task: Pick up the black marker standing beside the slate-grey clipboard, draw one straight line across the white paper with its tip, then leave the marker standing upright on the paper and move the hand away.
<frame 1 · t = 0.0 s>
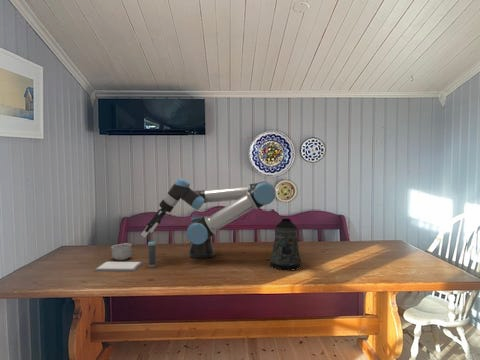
hand: (146, 233, 194), 15 cm above the table, tool tilted 35°, fingers open, 13 cm apart
marker: (152, 266, 184), on the table
teacup: (123, 258, 200), on the table
beer stein: (284, 266, 187), on the table
clipboard: (119, 266, 183), on the table
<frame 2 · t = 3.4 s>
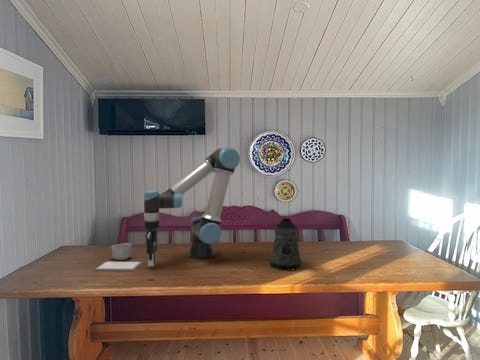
hand: (152, 264, 184), 1 cm above the table, tool pointing down, fingers closed on marker, 4 cm apart
marker: (152, 266, 184), on the table, touching gripper
everything else where it was.
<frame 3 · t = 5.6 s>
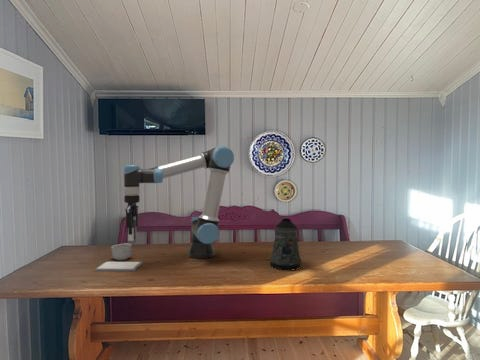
hand: (132, 239, 183), 15 cm above the table, tool pointing down, fingers closed on marker, 4 cm apart
marker: (132, 241, 183), point 13 cm above the table, touching gripper
everything else where it was.
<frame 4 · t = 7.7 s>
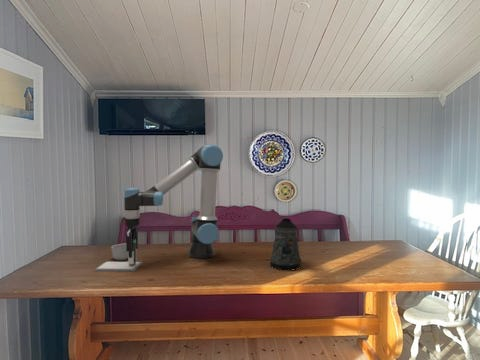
hand: (132, 262, 183), 3 cm above the table, tool pointing down, fingers closed on marker, 4 cm apart
marker: (132, 264, 183), point 1 cm above the table, touching gripper
everything else where it was.
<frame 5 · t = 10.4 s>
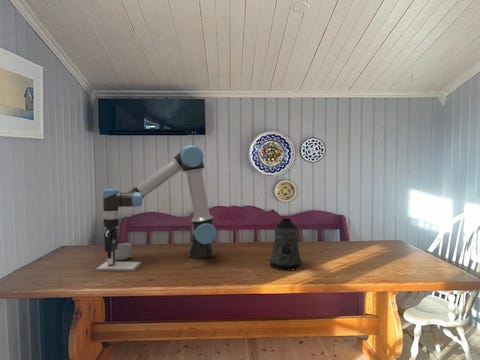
hand: (111, 262, 183), 2 cm above the table, tool pointing down, fingers closed on marker, 4 cm apart
marker: (112, 264, 183), point 1 cm above the table, touching gripper
everything else where it was.
when the fingers open (3 cm above the table, at t = 12.4 s): marker stays where it is, resting on clipboard.
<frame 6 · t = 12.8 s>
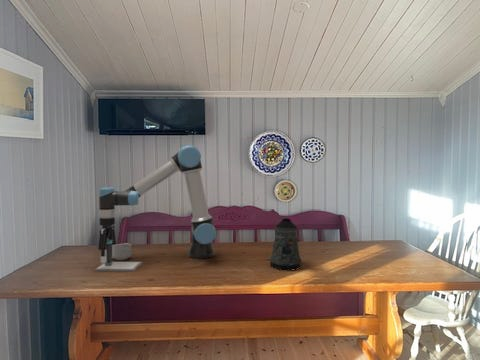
hand: (107, 259, 183), 4 cm above the table, tool pointing down, fingers open, 10 cm apart
marker: (108, 264, 183), point 1 cm above the table, touching clipboard
everything else where it was.
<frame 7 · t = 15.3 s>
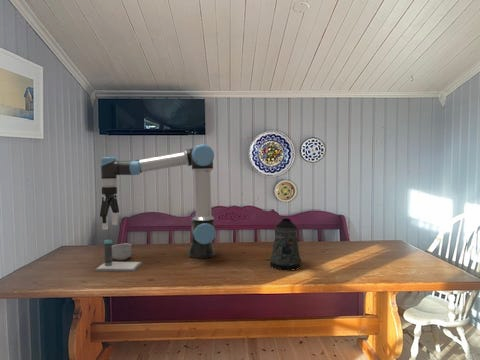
hand: (110, 227, 184), 21 cm above the table, tool pointing down, fingers open, 13 cm apart
nothing on the table moved.
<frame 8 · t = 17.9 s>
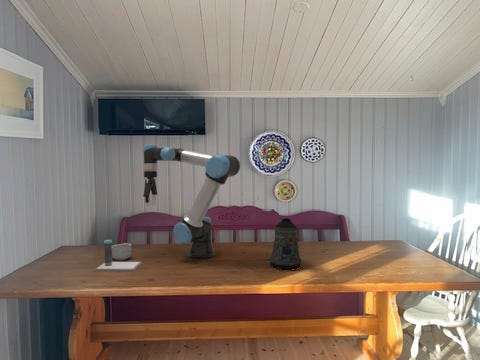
hand: (150, 206, 207), 29 cm above the table, tool pointing down, fingers open, 13 cm apart
nothing on the table moved.
at the end: marker inside the target area on the clipboard (5.7 cm from its centre), point 1.0 cm above the clipboard's base; marker tilted 1°; the gripper is holding nothing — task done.
